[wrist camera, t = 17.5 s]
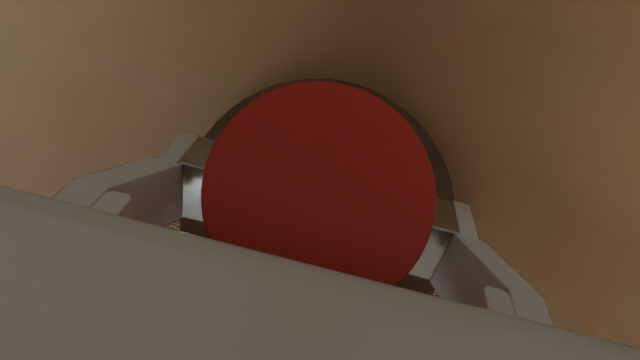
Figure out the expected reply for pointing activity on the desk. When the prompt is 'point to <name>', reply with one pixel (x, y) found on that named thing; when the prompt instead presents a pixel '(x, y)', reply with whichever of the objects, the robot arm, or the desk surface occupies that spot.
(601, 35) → the desk surface
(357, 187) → the cap
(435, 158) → the coaster
